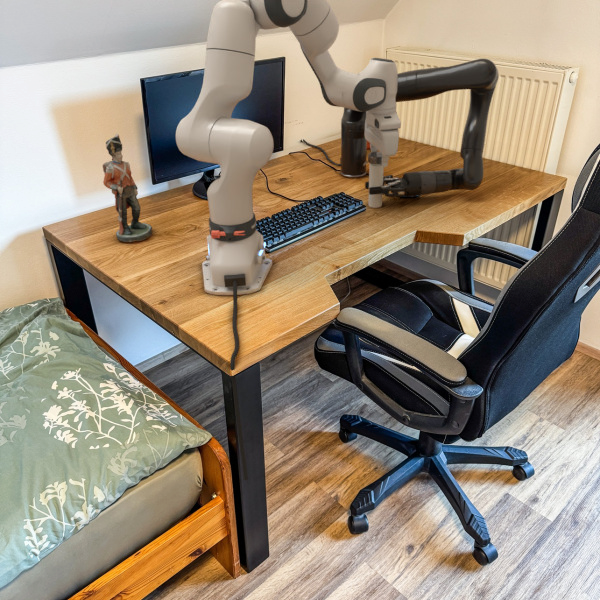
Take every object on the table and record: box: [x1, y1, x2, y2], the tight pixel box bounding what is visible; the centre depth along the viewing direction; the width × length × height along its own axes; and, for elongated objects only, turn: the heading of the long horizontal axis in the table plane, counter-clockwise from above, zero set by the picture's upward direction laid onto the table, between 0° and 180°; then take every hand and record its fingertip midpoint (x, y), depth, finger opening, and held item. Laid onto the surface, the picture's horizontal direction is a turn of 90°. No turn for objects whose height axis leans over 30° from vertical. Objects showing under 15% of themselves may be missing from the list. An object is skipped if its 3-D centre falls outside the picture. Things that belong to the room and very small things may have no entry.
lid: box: [367, 151, 382, 164], centre depth 174 cm, size 5×5×2 cm
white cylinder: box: [367, 163, 385, 209], centre depth 178 cm, size 4×4×16 cm
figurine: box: [102, 133, 153, 243], centre depth 161 cm, size 11×11×30 cm
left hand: (379, 161), depth 174 cm, fingers open, 7 cm apart
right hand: (367, 188), depth 179 cm, fingers closed on white cylinder, 4 cm apart
